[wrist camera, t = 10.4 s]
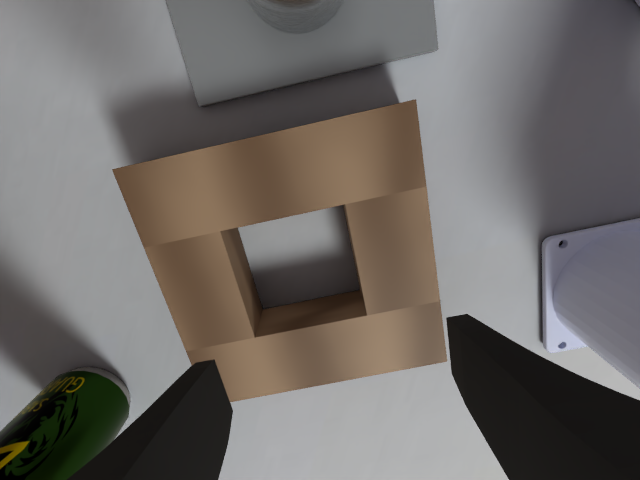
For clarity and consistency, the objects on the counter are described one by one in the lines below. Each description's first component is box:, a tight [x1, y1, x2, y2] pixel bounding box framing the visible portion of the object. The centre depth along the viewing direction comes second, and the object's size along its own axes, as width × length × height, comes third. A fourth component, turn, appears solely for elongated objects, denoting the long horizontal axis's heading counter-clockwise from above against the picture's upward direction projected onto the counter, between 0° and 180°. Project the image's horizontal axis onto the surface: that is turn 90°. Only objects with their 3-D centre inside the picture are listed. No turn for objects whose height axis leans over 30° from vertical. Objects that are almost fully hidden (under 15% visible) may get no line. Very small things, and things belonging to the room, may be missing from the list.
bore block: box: [112, 100, 447, 402], centre depth 19 cm, size 14×14×3 cm
